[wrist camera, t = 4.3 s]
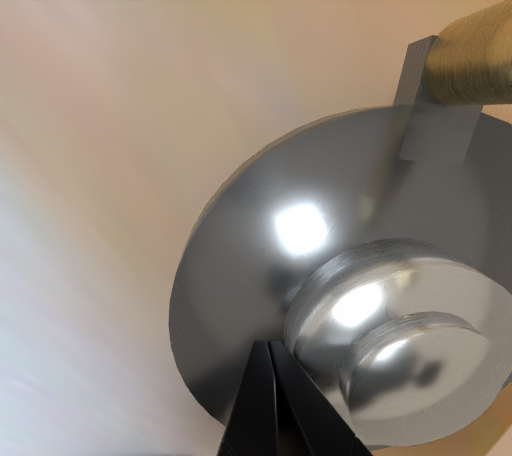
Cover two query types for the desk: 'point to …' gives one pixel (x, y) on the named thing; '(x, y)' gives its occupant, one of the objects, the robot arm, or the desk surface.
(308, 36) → the desk surface
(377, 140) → the turntable
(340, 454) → the robot arm
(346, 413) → the cover
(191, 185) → the desk surface
